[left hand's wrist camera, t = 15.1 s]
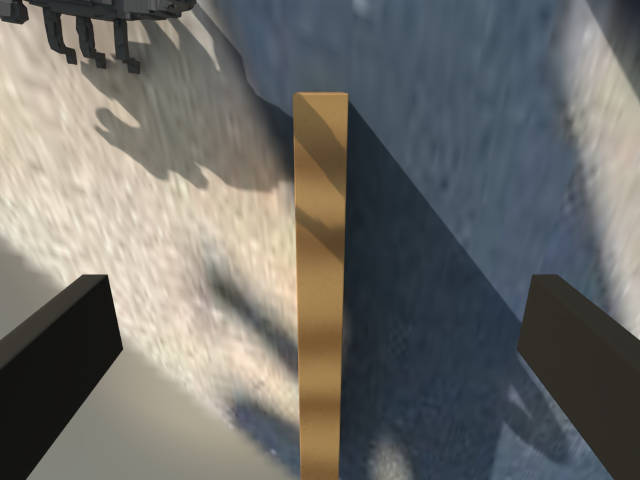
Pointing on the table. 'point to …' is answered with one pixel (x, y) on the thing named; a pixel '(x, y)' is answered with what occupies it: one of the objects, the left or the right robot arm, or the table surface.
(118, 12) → the toy
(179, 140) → the table surface
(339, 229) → the bar
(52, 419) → the left robot arm
